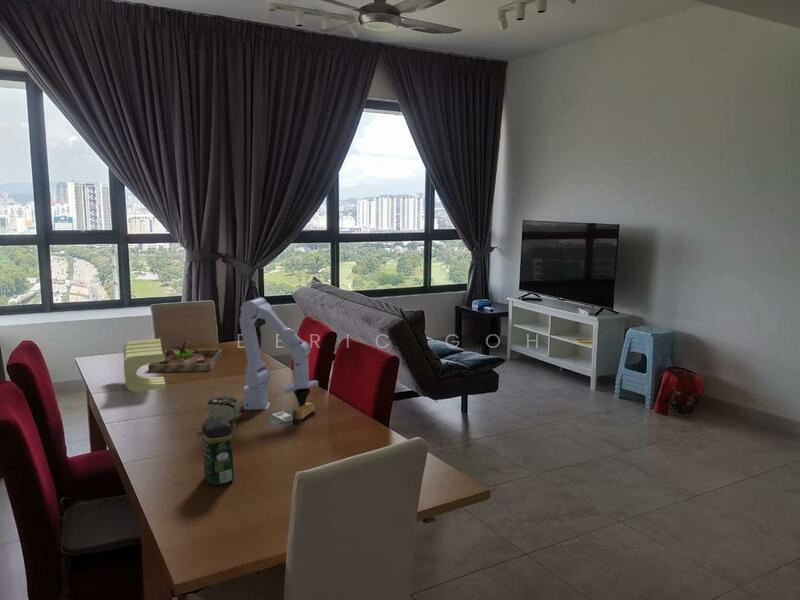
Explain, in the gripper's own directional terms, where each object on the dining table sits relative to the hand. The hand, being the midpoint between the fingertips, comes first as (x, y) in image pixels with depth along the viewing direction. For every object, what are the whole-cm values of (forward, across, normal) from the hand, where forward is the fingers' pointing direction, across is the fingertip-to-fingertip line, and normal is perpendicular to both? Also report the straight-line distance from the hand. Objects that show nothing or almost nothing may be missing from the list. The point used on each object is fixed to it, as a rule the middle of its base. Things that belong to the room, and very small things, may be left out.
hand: (301, 406), depth 242 cm
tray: (+2, -9, -3) cm, 10 cm away
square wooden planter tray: (+2, -5, +98) cm, 98 cm away
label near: (+2, -9, -4) cm, 10 cm away
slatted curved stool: (+3, -34, +74) cm, 81 cm away
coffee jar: (+3, -51, -33) cm, 60 cm away
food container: (+3, -28, +7) cm, 29 cm away
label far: (+2, -9, +1) cm, 9 cm away
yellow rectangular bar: (+1, -2, -5) cm, 6 cm away
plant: (+3, -5, +101) cm, 101 cm away
